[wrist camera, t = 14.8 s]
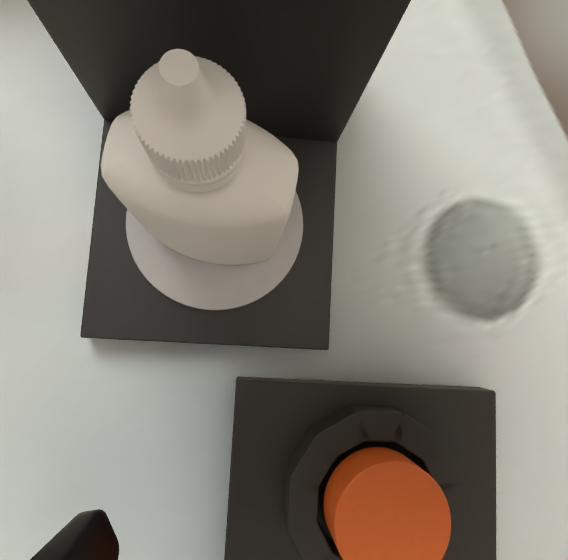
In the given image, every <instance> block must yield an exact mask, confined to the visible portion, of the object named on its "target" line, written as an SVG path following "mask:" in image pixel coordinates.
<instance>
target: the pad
mask: <svg viewBox="0 0 568 560" xmlns="http://www.w3.org/2000/svg"><path fill="white" fill-rule="evenodd" d="M369 447H385V448H389V449H393V450H395V451H398V452H399V453H401V454H403V455H405V456H406V457H407V458H408V459H410V460H411V461H412V462H414V463H415V464H416V465H418V466H419V467H420V468H422V469H423V470H424V471H425V472H427V473H428V474H429V475H430V476H431V477H432V478H433V479H434V480H435V481H436V482H437V483H438V485H439V486H440V488H441V489H442V491H443V493H444V495H445V497H446V499H447V502H448V506H449V510H450V515H451V534H450V540H449V544H448V547H447V550H446V552H445V554H444V556H443V558H442V560H496V394H495V391H492V390H488V389H484V388H480V387H460V386H437V385H414V384H392V383H369V382H346V381H323V380H301V379H278V378H255V377H237V379H236V393H235V408H234V423H233V438H232V453H231V468H230V483H229V498H228V513H227V529H226V544H225V559H224V560H343V559H342V558H341V556H340V554H339V551H338V549H337V547H336V545H335V542H334V540H333V538H332V536H331V533H330V531H329V529H328V526H327V524H326V520H325V516H324V504H323V502H324V493H325V489H326V486H327V483H328V480H329V478H330V476H331V474H332V473H333V471H334V470H335V468H336V467H337V466H338V465H339V463H340V462H341V461H343V460H344V459H345V458H346V457H347V456H349V455H350V454H352V453H354V452H356V451H358V450H361V449H364V448H369Z"/></svg>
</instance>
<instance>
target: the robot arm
mask: <svg viewBox="0 0 568 560" xmlns="http://www.w3.org/2000/svg"><path fill="white" fill-rule="evenodd" d="M118 556H119V544H118V540H117V537H116V535H115V533H114V530H113V528H112V526H111V524H110V521H109V519H108V517H107V515H106V513H105V512H104V511H103V510H100V509H98V510H92V511H86V512H82V513H79V514H78V515H77V516H75V517H74V518H73V519H72V520H71V521H70V522H69V523H68V524H67V525H66V526H65V527H64V528H63V529H62V530H61V531H60V532H59V533H58V534H56V535H55V536H54V537H53V538H52V539H51V540H50V541H49V542H48V543H47V544H46V545H45V546H44V547H43V548H42V549H41V550H40V551H39V552H38V553H37V554H35V555H34V556H33V557H32V558H31V559H30V560H118Z"/></svg>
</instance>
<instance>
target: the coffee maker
mask: <svg viewBox="0 0 568 560" xmlns="http://www.w3.org/2000/svg"><path fill="white" fill-rule="evenodd" d="M410 1H411V0H28V2H29V3H30V5H31V7H32V8H33V10H34V11H35V13H36V14H37V16H38V17H39V19H40V21H41V22H42V24H43V25H44V27H45V28H46V30H47V31H48V33H49V34H50V36H51V38H52V39H53V41H54V42H55V44H56V45H57V47H58V48H59V50H60V52H61V53H62V55H63V56H64V58H65V59H66V61H67V62H68V64H69V65H70V67H71V69H72V70H73V72H74V73H75V75H76V76H77V78H78V79H79V81H80V82H81V84H82V86H83V87H84V89H85V90H86V92H87V93H88V95H89V96H90V98H91V100H92V101H93V103H94V104H95V106H96V107H97V109H98V110H99V112H100V113H101V115H102V117H103V118H104V127H103V136H102V145H101V154H100V163H99V172H98V181H97V190H96V200H95V209H94V218H93V227H92V236H91V245H90V254H89V263H88V272H87V281H86V290H85V299H84V308H83V318H82V327H81V337H83V338H103V339H123V340H142V341H162V342H181V343H201V344H221V345H240V346H260V347H280V348H299V349H319V350H328V349H329V325H330V300H331V276H332V252H333V228H334V203H335V179H336V155H337V141H338V139H339V137H340V135H341V133H342V132H343V130H344V128H345V126H346V124H347V122H348V120H349V118H350V116H351V114H352V112H353V110H354V108H355V107H356V105H357V103H358V101H359V99H360V97H361V95H362V93H363V91H364V89H365V87H366V85H367V84H368V82H369V80H370V78H371V76H372V74H373V72H374V70H375V68H376V66H377V64H378V62H379V61H380V59H381V57H382V55H383V53H384V51H385V49H386V47H387V45H388V43H389V41H390V39H391V37H392V36H393V34H394V32H395V30H396V28H397V26H398V24H399V22H400V20H401V18H402V16H403V14H404V13H405V11H406V9H407V7H408V5H409V3H410ZM173 49H183V50H186V51H189V52H190V53H192V54H193V55H194V56H195V57H201V58H206V59H207V60H211V61H212V62H214V63H217V65H220V66H222V68H223V69H226V72H228V73H230V74H231V76H232V77H233V78H234V81H236V82H237V83H238V86H239V87H240V88H241V92H242V93H243V97H244V98H245V104H246V119H247V120H249V121H250V122H252V123H254V124H256V125H258V126H259V127H261V128H263V129H264V130H266V131H267V132H269V133H270V134H272V135H273V136H275V137H276V138H277V139H278V140H280V141H281V142H282V143H283V144H285V145H286V146H287V147H288V148H289V149H290V150H291V151H292V152H293V154H294V155H295V157H296V159H297V160H298V168H299V171H298V179H297V185H296V190H295V195H294V200H293V204H292V208H291V212H290V215H289V218H288V221H287V223H286V225H285V228H284V230H283V232H282V235H281V237H280V239H279V242H278V244H277V246H276V248H275V251H274V252H273V254H272V256H271V257H270V258H268V259H267V260H265V261H261V262H257V263H251V264H243V265H222V264H213V263H208V262H204V261H200V260H196V259H193V258H190V257H188V256H185V255H183V254H181V253H178V252H176V251H174V250H172V249H171V248H169V247H167V246H166V245H164V244H163V243H161V242H159V241H158V240H157V239H156V238H154V237H153V236H152V235H151V234H150V233H149V232H148V231H147V230H146V228H145V227H144V226H143V225H142V224H141V223H140V222H139V221H138V220H137V219H136V218H135V217H134V216H133V214H132V213H131V212H130V211H129V210H128V209H127V208H126V207H125V206H124V205H123V203H122V202H121V201H120V200H119V199H118V198H117V197H116V195H115V194H114V193H113V192H112V191H111V189H110V188H109V187H108V185H107V184H106V182H105V181H104V179H103V177H102V172H101V160H102V155H103V150H104V146H105V142H106V139H107V135H108V132H109V129H110V126H111V124H112V123H113V121H114V120H115V118H116V117H117V116H119V115H120V114H122V113H124V112H125V111H128V110H130V109H129V108H130V106H131V104H130V101H131V100H132V99H131V96H132V94H133V92H132V91H133V90H134V89H135V85H136V84H137V83H138V82H137V81H138V80H139V79H140V78H141V76H142V75H143V74H144V72H145V71H147V70H148V69H149V68H150V67H152V66H153V65H154V64H157V63H158V62H159V61H160V59H161V57H162V56H163V55H164V54H165V53H166V52H168V51H170V50H173Z"/></svg>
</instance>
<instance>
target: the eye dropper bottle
mask: <svg viewBox="0 0 568 560" xmlns="http://www.w3.org/2000/svg"><path fill="white" fill-rule="evenodd" d="M137 82H138V83H137V84H136V85H135V89H134V90H133V91H132V92H133V94H132V96H131V99H132V100H131V101H130V104H131V106H130V108H129V109H130V110H128V111H125V112H124V113H122V114H120V115H119V116H117V117H116V118H115V120H114V121H113V123H112V124H111V126H110V129H109V132H108V135H107V139H106V142H105V146H104V150H103V155H102V160H101V172H102V177H103V179H104V181H105V182H106V184H107V185H108V187H109V188H110V189H111V191H112V192H113V193H114V194H115V195H116V197H117V198H118V199H119V200H120V201H121V202H122V203H123V205H124V206H125V207H126V208H127V209H128V210H129V211H130V212H131V213H132V214H133V216H134V217H135V218H136V219H137V220H138V221H139V222H140V223H141V224H142V225H143V226H144V227H145V228H146V230H147V231H148V232H149V233H150V234H151V235H152V236H153V237H154V238H156V239H157V240H158V241H159V242H161V243H163V244H164V245H166V246H167V247H169V248H171V249H172V250H174V251H176V252H178V253H181V254H183V255H185V256H188V257H190V258H193V259H196V260H200V261H204V262H208V263H213V264H222V265H243V264H251V263H257V262H261V261H265V260H267V259H268V258H270V257H271V256H272V254H273V252H274V251H275V248H276V246H277V244H278V242H279V239H280V237H281V235H282V232H283V230H284V228H285V225H286V223H287V221H288V218H289V215H290V212H291V208H292V204H293V200H294V195H295V190H296V185H297V179H298V171H299V168H298V160H297V159H296V157H295V155H294V154H293V152H292V151H291V150H290V149H289V148H288V147H287V146H286V145H285V144H283V143H282V142H281V141H280V140H278V139H277V138H276V137H275V136H273V135H272V134H270V133H269V132H267V131H266V130H264V129H263V128H261V127H259V126H258V125H256V124H254V123H252V122H250V121H249V120H247V119H246V104H245V98H244V97H243V93H242V92H241V88H240V87H239V86H238V83H237V82H236V81H234V78H233V77H232V76H231V74H230V73H228V72H226V69H223V68H222V66H220V65H217V63H214V62H212V61H211V60H207V59H206V58H201V57H195V56H194V55H193V54H192V53H190V52H189V51H186V50H183V49H173V50H170V51H168V52H166V53H165V54H164V55H163V56H162V57H161V59H160V61H159V62H158V63H157V64H154V65H153V66H152V67H150V68H149V69H148V70H147V71H145V72H144V74H143V75H142V76H141V78H140V79H139V80H138V81H137Z"/></svg>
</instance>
